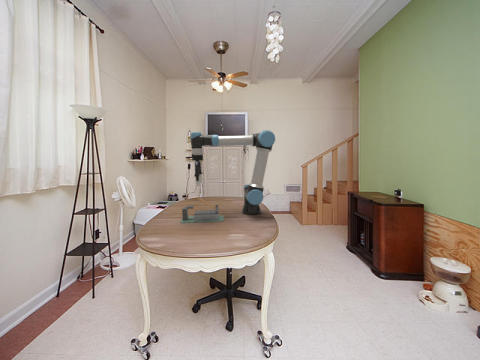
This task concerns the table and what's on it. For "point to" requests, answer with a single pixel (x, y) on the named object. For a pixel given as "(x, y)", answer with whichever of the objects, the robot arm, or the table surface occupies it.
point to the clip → (186, 212)
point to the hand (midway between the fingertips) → (199, 184)
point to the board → (191, 220)
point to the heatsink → (207, 215)
